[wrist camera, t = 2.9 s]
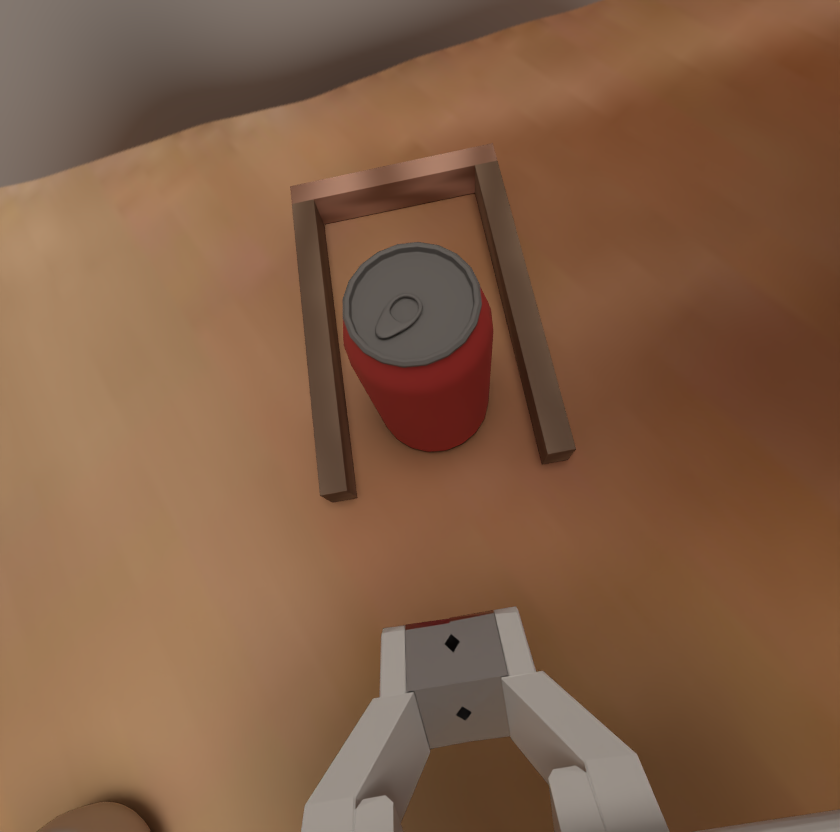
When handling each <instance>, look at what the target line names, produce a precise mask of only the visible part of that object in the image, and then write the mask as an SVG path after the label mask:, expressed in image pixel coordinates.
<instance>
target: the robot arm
mask: <svg viewBox="0 0 840 832" xmlns="http://www.w3.org/2000/svg"><path fill="white" fill-rule="evenodd" d="M508 736H511V739H512V740H513V741H514V743H515V744H516V745H517V746H518V748H519V749H520V750H521V751H522V753H523V754H524V755H525V756H526V758H527V759H528V760H529V761H530V762H531V764H532V765H533V766H534V767H535V769H536V770H537V771H538V772H539V774H540V775H541V776H542V777H543V779H544V780H545V781H546V782H547V783H548V785H549V789H550V799H551V808H552V817H553V826H554V832H670V831H669V829H668V827H667V824H666V822H665V820H664V817H663V815H662V812H661V810H660V808H659V805H658V803H657V801H656V798H655V796H654V793H653V791H652V789H651V786H650V784H649V782H648V779H647V777H646V774H645V772H644V770H643V767H642V765H641V763H640V760H639V758H638V755H637V754H636V753H635V752H634V751H633V750H632V749H630V748H629V747H628V746H627V745H626V744H625V743H624V742H623V741H621V740H620V739H619V738H618V737H617V736H616V735H615V734H614V733H612V732H611V731H610V730H609V729H608V728H607V727H606V726H605V725H603V724H602V723H601V722H600V721H599V720H598V719H597V718H596V717H594V716H593V715H592V714H591V713H590V712H589V711H588V710H587V709H585V708H584V707H583V706H582V705H581V704H580V703H579V702H578V701H576V700H575V699H574V698H573V697H572V696H571V695H570V694H569V693H567V692H566V691H565V690H564V689H563V688H562V687H561V686H560V685H558V684H557V683H556V682H555V681H554V680H553V679H552V678H551V677H549V676H548V675H547V674H546V673H545V672H544V671H538V672H536V670H535V666H534V663H533V659H532V656H531V652H530V649H529V646H528V642H527V639H526V635H525V632H524V628H523V625H522V621H521V618H520V614H519V611H518V609H517V608H516V606H515V607H509V608H504V609H498V610H494V612H493V610H490V611H485V612H479V613H474V614H468V615H463V616H457V617H452V618H449V619H443V620H436V621H429V622H422V623H414V624H407V625H402V626H396V627H389V628H383V631H382V635H381V665H380V697H378V698H373V699H372V701H371V702H370V704H369V705H368V707H367V709H366V710H365V712H364V713H363V715H362V716H361V718H360V720H359V721H358V723H357V724H356V726H355V727H354V729H353V731H352V732H351V734H350V735H349V737H348V738H347V740H346V742H345V743H344V745H343V746H342V748H341V749H340V751H339V753H338V754H337V756H336V757H335V759H334V760H333V762H332V764H331V765H330V767H329V768H328V770H327V771H326V773H325V775H324V776H323V778H322V779H321V781H320V782H319V784H318V786H317V787H316V789H315V790H314V792H313V793H312V795H311V797H310V798H309V800H308V801H307V803H306V804H305V808H304V815H303V822H302V829H301V832H404V831H403V829H402V826H401V821H402V819H403V816H404V814H405V812H406V809H407V807H408V804H409V802H410V800H411V797H412V795H413V792H414V790H415V788H416V785H417V783H418V780H419V778H420V776H421V773H422V771H423V768H424V766H425V763H426V761H427V759H428V756H429V754H430V749H432V748H438V747H443V746H448V745H453V744H459V743H464V742H469V741H477V740H484V739H492V738H500V737H508ZM694 832H840V809H839V810H832V811H825V812H819V813H812V814H806V815H799V816H792V817H786V818H779V819H773V820H766V821H759V822H753V823H746V824H740V825H733V826H726V827H720V828H713V829H707V830H700V831H694Z"/></svg>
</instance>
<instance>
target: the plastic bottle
mask: <svg viewBox="0 0 840 832" xmlns="http://www.w3.org/2000/svg"><path fill="white" fill-rule="evenodd" d="M37 832H151V831H150V829H149V827H148V826H147V824H146V822H145V821H144V820H143V819H142V818H141V817H140V816H139V815H138V814H137V813H136V812H135V811H134V810H132V809H130V808H128V807H127V806H125V805H122V804H119V803H115V802H99V803H94V804H90V805H87V806H83V807H80V808H77V809H74V810H71V811H68V812H66V813H64V814H62V815H60V816H57V817H56V818H54V819H53V820H52V821H50V822H49V823H47V824H46V825H45V826H43V827H42V828H41V829H39V830H38V831H37Z"/></svg>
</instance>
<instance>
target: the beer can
mask: <svg viewBox="0 0 840 832" xmlns="http://www.w3.org/2000/svg"><path fill="white" fill-rule="evenodd" d="M343 340H344V347H345V350H346V352H347V355H348V358H349V360H350V363H351V366H352V367H353V369H354V371H355V373H356V374H357V376H358V378H359V379H360V381H361V383H362V385H363V386H364V388H365V390H366V392H367V393H368V395H369V397H370V399H371V400H372V402H373V404H374V406H375V407H376V409H377V411H378V412H379V414H380V416H381V418H382V419H383V421H384V423H385V425H386V426H387V428H388V429H389V430H390V431H391V432H392V434H393V435H394V436H395V437H396V438H397V439H398V440H399V441H401V442H403V443H404V444H406V445H408V446H409V447H411V448H415V449H419V450H423V451H428V452H431V451H443V450H448V449H450V448H453V447H455V446H458V445H460V444H462V443H464V442H465V441H466V440H467V439H468V438H470V437H471V436H472V435H473V434H474V433H476V431H477V430H478V428H479V426H480V425H481V423H482V422H483V420H484V418H485V414H486V410H487V406H488V400H489V385H490V371H491V356H492V342H493V324H492V315H491V309H490V306H489V304H488V301H487V299H486V297H485V295H484V293H483V291H482V289H481V287H480V284H479V282H478V280H477V278H476V276H475V274H474V272H473V270H472V268H471V267H470V266H469V265H468V264H467V263H466V262H465V261H464V260H463V259H462V258H461V257H460V256H459V255H457V254H456V253H454V252H452V251H450V250H448V249H445V248H443V247H441V246H439V245H434V244H427V243H421V242H414V243H406V244H397V245H395V246H392V247H390V248H387V249H385V250H382V251H379V252H377V253H376V254H375V255H373V256H372V257H371V258H369V259H368V260H367V261H365V262H364V263H363V264H361V265H360V267H359V268H358V269H357V271H356V272H355V273H354V275H353V276H352V277H351V279H350V280H349V282H348V285H347V288H346V291H345V294H344V297H343Z"/></svg>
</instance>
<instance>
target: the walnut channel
mask: <svg viewBox="0 0 840 832" xmlns="http://www.w3.org/2000/svg"><path fill="white" fill-rule="evenodd" d="M290 188H291V199H292V209H293V220H294V230H295V240H296V251H297V261H298V271H299V282H300V292H301V303H302V313H303V323H304V334H305V344H306V355H307V365H308V375H309V386H310V396H311V406H312V417H313V427H314V438H315V448H316V458H317V469H318V479H319V489H320V496H322V497H324V498H325V499H327V500H329V501H331V502H337V501H343V500H348V499H354V498H357V493H356V484H355V476H354V468H353V459H352V451H351V443H350V434H349V426H348V418H347V410H346V401H345V393H344V385H343V376H342V368H341V360H340V351H339V343H338V335H337V327H336V318H335V310H334V302H333V293H332V285H331V277H330V268H329V260H328V252H327V244H326V235H325V227H324V224H328V223H332V222H337V221H342V220H347V219H352V218H356V217H361V216H366V215H371V214H375V213H380V212H385V211H390V210H395V209H399V208H404V207H409V206H414V205H419V204H423V203H428V202H433V201H438V200H443V199H447V198H452V197H457V196H462V195H466V194H471V193H475V195H476V199H477V203H478V207H479V211H480V215H481V219H482V223H483V227H484V231H485V235H486V239H487V243H488V248H489V252H490V256H491V260H492V264H493V268H494V272H495V276H496V280H497V284H498V288H499V292H500V296H501V300H502V304H503V308H504V312H505V316H506V320H507V324H508V328H509V333H510V337H511V341H512V345H513V349H514V353H515V357H516V361H517V365H518V369H519V373H520V377H521V381H522V385H523V389H524V393H525V397H526V401H527V405H528V409H529V413H530V418H531V422H532V426H533V430H534V434H535V438H536V442H537V446H538V450H539V454H540V458H541V462H542V464H547V463H553V462H558V461H564V460H568V459H569V458H570V456H571V455H572V454H573V452H574V451H575V450H576V447H575V444H574V440H573V436H572V433H571V429H570V425H569V422H568V418H567V414H566V411H565V407H564V403H563V400H562V396H561V392H560V389H559V385H558V381H557V378H556V374H555V370H554V367H553V363H552V359H551V356H550V352H549V348H548V345H547V341H546V337H545V334H544V330H543V326H542V323H541V319H540V315H539V312H538V308H537V304H536V301H535V297H534V293H533V290H532V286H531V282H530V279H529V275H528V271H527V268H526V264H525V260H524V257H523V253H522V249H521V246H520V242H519V238H518V235H517V231H516V227H515V224H514V220H513V216H512V213H511V209H510V205H509V202H508V198H507V194H506V191H505V187H504V183H503V180H502V176H501V172H500V169H499V165H498V161H497V158H496V154H495V150H494V147H493V143H492V144H487V145H482V146H478V147H473V148H468V149H463V150H459V151H454V152H449V153H445V154H440V155H435V156H431V157H426V158H421V159H417V160H412V161H407V162H402V163H398V164H393V165H388V166H384V167H379V168H374V169H370V170H365V171H360V172H356V173H351V174H346V175H341V176H337V177H332V178H327V179H323V180H318V181H313V182H309V183H304V184H299V185H295V186H290Z"/></svg>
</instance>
